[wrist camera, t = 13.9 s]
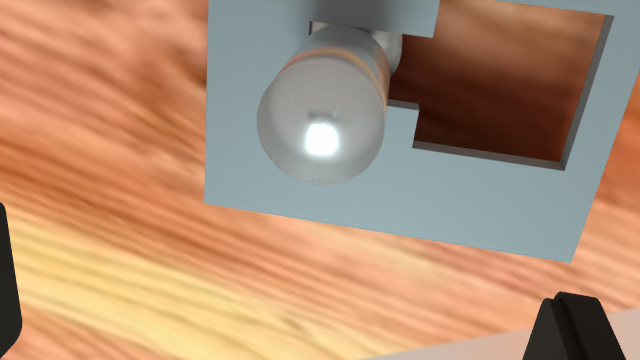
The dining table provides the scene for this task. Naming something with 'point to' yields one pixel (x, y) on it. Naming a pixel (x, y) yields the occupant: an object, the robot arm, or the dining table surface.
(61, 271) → the dining table surface
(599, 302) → the robot arm
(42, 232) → the dining table surface
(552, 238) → the keyhole plate
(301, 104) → the steel peg
